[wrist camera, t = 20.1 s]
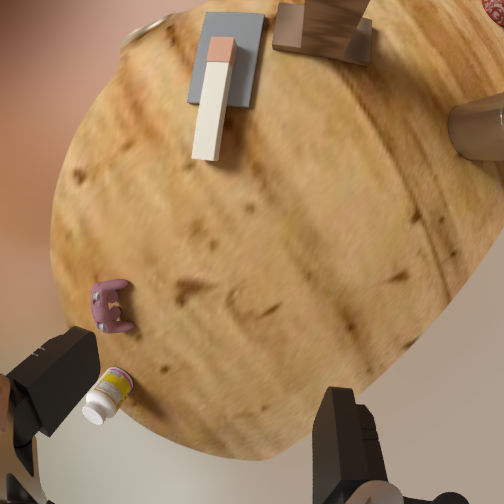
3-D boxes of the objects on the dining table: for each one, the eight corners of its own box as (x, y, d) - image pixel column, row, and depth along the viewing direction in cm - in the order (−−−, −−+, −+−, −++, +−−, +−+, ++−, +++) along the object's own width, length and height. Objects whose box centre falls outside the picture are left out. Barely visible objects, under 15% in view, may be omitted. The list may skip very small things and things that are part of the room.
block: (237, 45, 36) (234, 37, 33) (219, 161, 41) (213, 160, 38) (216, 45, 36) (211, 36, 33) (197, 159, 41) (190, 158, 38)
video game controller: (116, 273, 50) (83, 283, 45) (130, 278, 48) (95, 290, 42) (123, 321, 53) (93, 334, 47) (137, 329, 50) (106, 344, 45)
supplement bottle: (120, 392, 57) (93, 429, 44) (102, 369, 55) (71, 404, 43) (140, 386, 55) (114, 427, 43) (121, 362, 54) (90, 401, 42)
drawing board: (264, 16, 35) (264, 13, 34) (249, 108, 39) (248, 106, 38) (207, 14, 35) (206, 12, 34) (189, 103, 40) (187, 102, 39)
